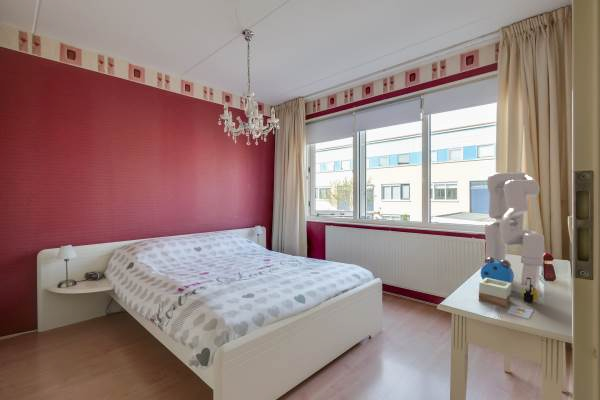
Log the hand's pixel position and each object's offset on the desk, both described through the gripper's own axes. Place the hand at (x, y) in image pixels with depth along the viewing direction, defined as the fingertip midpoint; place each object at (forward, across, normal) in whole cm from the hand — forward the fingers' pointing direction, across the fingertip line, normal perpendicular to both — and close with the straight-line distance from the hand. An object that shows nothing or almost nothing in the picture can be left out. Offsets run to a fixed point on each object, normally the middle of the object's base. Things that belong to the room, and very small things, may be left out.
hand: (529, 299), depth 125 cm
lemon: (+1, 0, 0) cm, 1 cm away
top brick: (-3, +10, -11) cm, 15 cm away
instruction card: (+1, +15, -1) cm, 15 cm away
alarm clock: (+1, -11, -15) cm, 19 cm away
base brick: (+1, +10, -11) cm, 15 cm away
